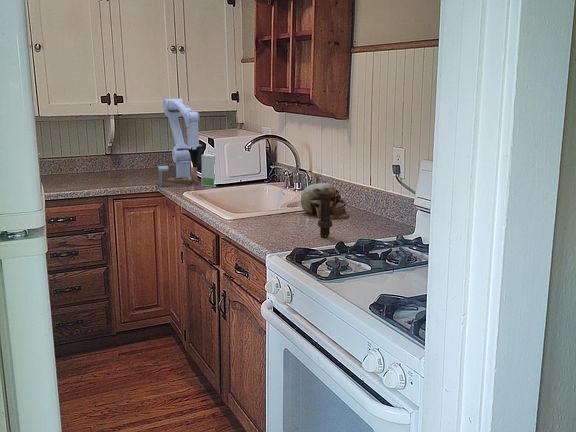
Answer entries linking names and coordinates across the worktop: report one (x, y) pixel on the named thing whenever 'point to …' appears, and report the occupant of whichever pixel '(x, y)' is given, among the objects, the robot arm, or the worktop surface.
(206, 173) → the skincare box
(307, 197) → the grey skull
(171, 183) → the socket block
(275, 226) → the worktop surface
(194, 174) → the peg
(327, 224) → the bolt
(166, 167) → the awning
